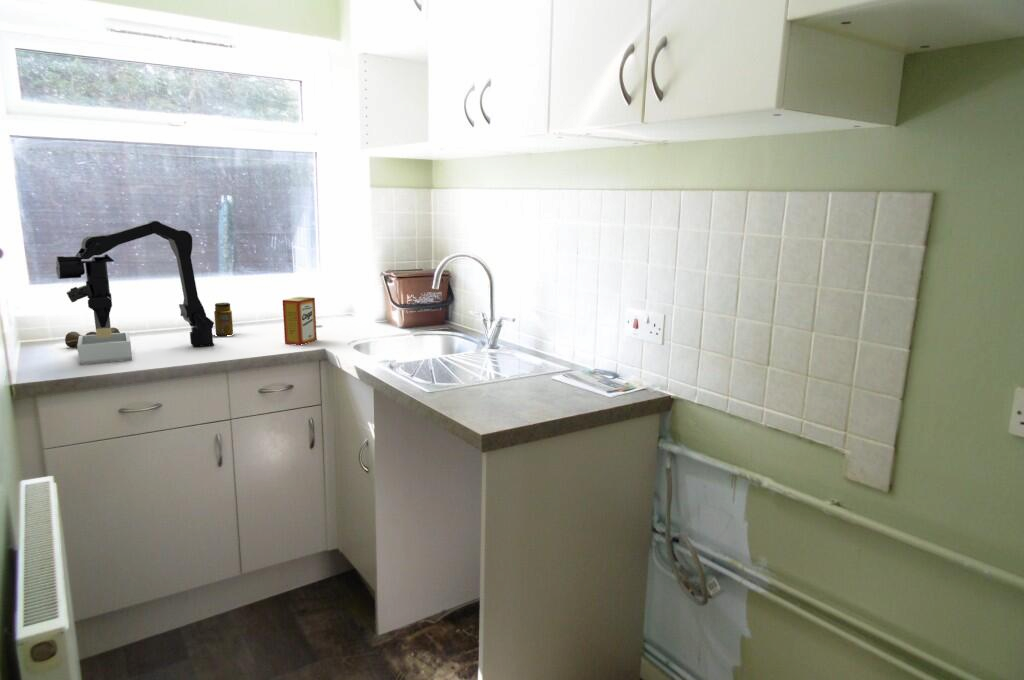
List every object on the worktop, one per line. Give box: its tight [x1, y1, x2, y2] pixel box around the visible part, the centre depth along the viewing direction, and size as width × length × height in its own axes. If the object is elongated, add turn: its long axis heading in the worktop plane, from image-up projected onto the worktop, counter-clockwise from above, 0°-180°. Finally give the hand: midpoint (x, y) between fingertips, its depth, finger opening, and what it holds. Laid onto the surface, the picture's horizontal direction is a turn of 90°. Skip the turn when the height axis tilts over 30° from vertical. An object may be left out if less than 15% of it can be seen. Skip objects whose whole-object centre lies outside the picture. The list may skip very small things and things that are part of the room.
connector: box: [93, 310, 112, 338], centre depth 213 cm, size 4×4×9 cm
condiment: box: [212, 302, 234, 338], centre depth 251 cm, size 7×8×12 cm
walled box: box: [76, 331, 133, 366], centre depth 214 cm, size 14×18×6 cm
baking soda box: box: [282, 296, 318, 346], centre depth 239 cm, size 10×6×16 cm
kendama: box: [64, 327, 121, 348], centre depth 232 cm, size 6×10×20 cm
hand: (103, 326), depth 213 cm, fingers closed on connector, 4 cm apart
